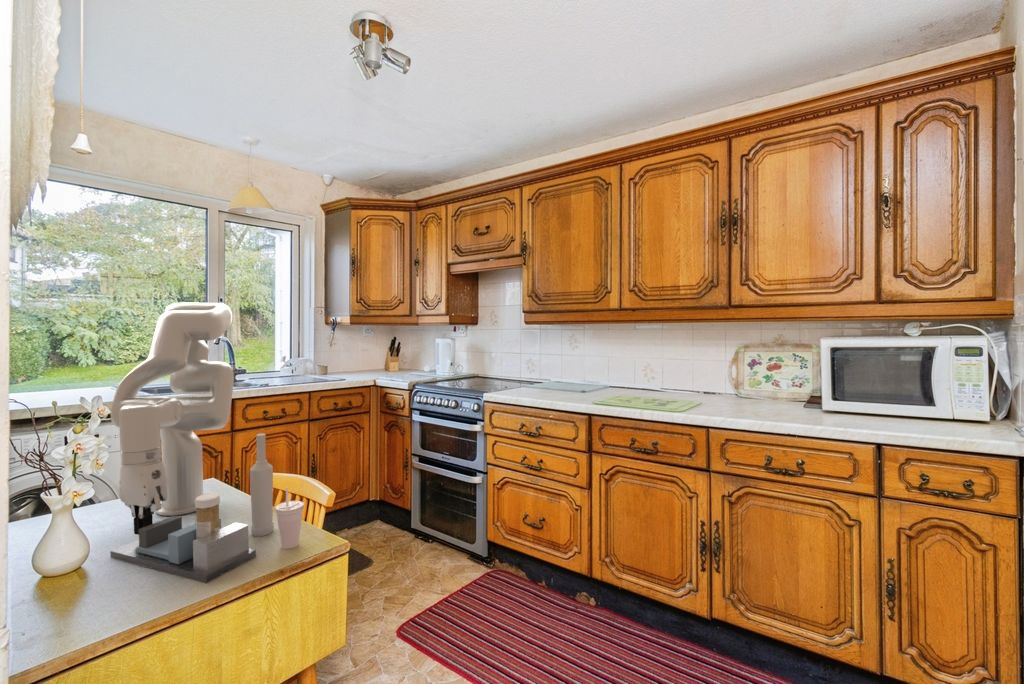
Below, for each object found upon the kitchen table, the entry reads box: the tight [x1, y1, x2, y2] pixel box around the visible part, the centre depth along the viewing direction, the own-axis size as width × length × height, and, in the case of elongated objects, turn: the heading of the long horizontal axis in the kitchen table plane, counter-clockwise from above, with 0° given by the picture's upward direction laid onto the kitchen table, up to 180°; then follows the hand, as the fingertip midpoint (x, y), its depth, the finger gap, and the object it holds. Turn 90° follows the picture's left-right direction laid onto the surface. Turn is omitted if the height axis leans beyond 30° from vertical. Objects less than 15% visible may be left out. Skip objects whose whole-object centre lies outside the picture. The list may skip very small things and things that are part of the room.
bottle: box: [249, 433, 275, 537], centre depth 121 cm, size 5×5×25 cm
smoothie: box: [274, 487, 305, 550], centre depth 114 cm, size 6×6×14 cm
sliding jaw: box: [137, 515, 222, 564], centre depth 109 cm, size 14×10×6 cm
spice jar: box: [195, 492, 221, 539], centre depth 106 cm, size 5×5×14 cm
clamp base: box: [109, 522, 257, 584], centre depth 108 cm, size 30×12×8 cm, turn 70°
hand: (143, 532), depth 113 cm, fingers closed
